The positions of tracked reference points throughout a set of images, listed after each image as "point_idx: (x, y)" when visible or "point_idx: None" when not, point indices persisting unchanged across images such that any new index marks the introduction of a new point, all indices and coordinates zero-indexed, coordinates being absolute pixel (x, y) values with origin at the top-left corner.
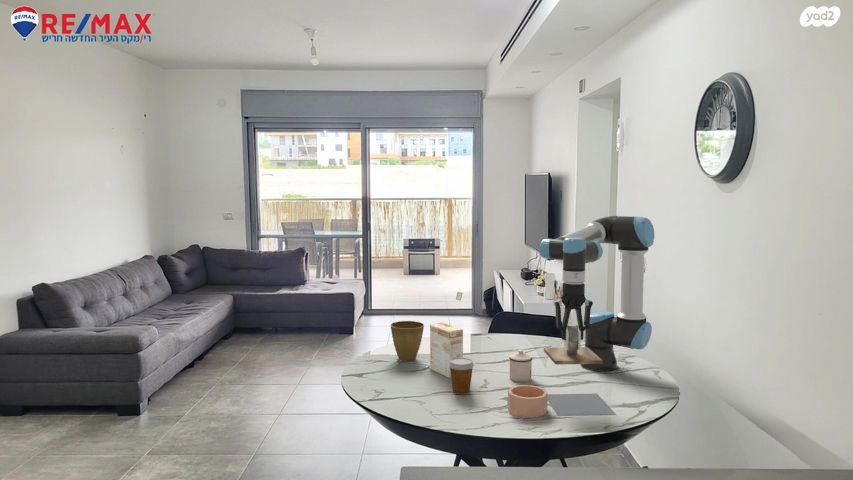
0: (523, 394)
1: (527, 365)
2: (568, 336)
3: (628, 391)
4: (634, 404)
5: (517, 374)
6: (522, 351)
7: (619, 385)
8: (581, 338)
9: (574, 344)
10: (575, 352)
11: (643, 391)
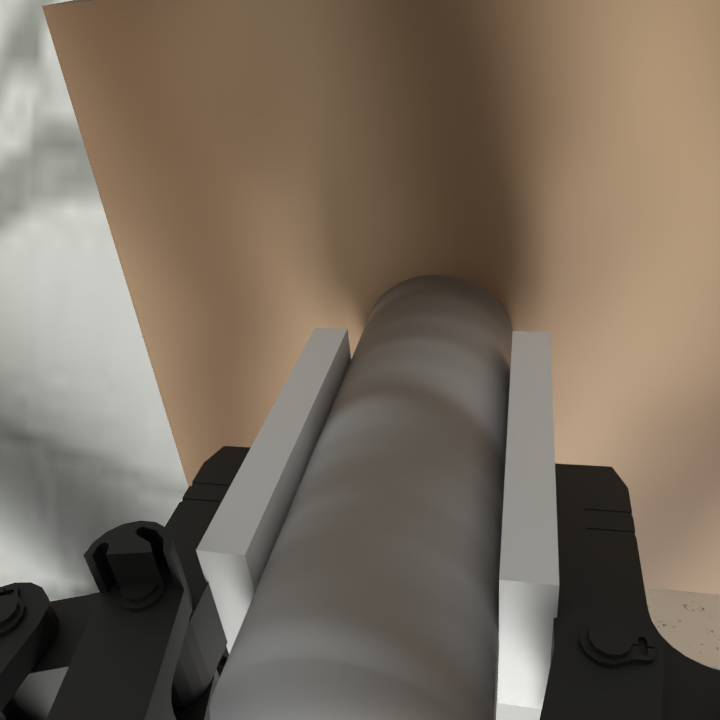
0: None
1: None
2: (505, 489)
3: (84, 366)
4: (60, 172)
5: (716, 598)
6: None
7: (124, 445)
8: (237, 463)
9: (399, 362)
10: (400, 297)
11: (9, 359)
